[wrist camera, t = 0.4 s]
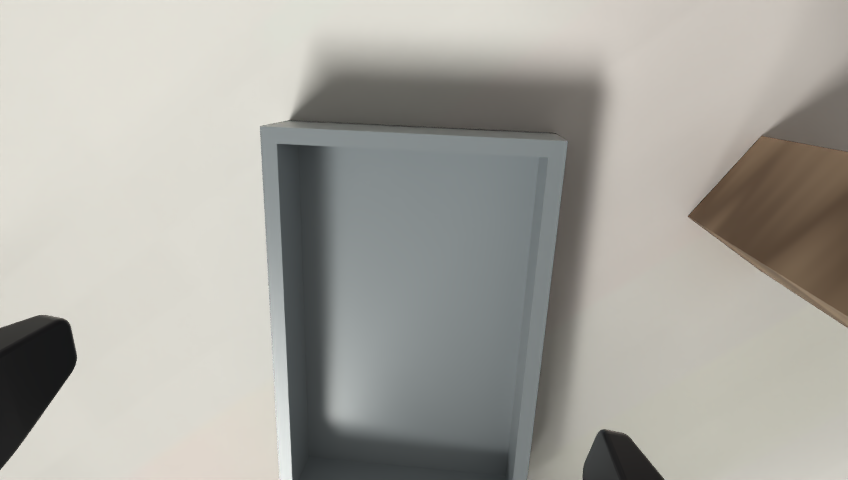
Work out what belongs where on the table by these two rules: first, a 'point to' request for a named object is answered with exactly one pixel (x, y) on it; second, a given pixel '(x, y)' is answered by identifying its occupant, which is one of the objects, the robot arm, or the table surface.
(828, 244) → the block
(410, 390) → the tray
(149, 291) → the table surface
